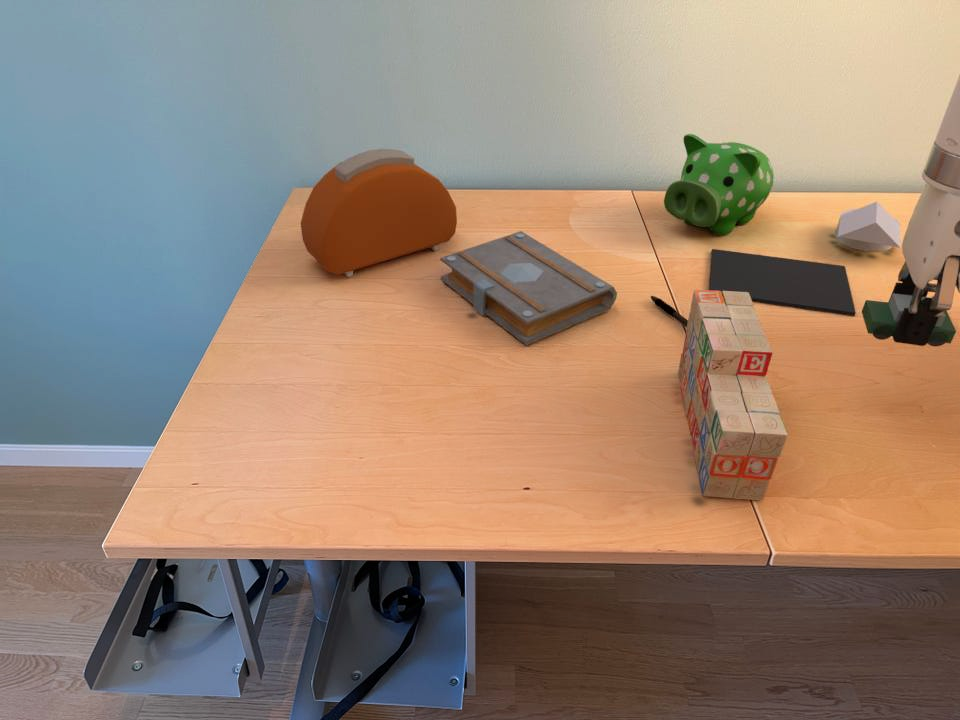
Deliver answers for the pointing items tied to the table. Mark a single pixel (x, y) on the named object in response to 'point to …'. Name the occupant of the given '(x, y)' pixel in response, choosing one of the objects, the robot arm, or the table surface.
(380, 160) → the orange toaster
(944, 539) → the table surface
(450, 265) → the book
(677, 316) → the pen
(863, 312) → the toy car
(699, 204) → the piggy bank
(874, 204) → the wedge on round base
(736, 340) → the stack of blocks
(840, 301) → the mat
